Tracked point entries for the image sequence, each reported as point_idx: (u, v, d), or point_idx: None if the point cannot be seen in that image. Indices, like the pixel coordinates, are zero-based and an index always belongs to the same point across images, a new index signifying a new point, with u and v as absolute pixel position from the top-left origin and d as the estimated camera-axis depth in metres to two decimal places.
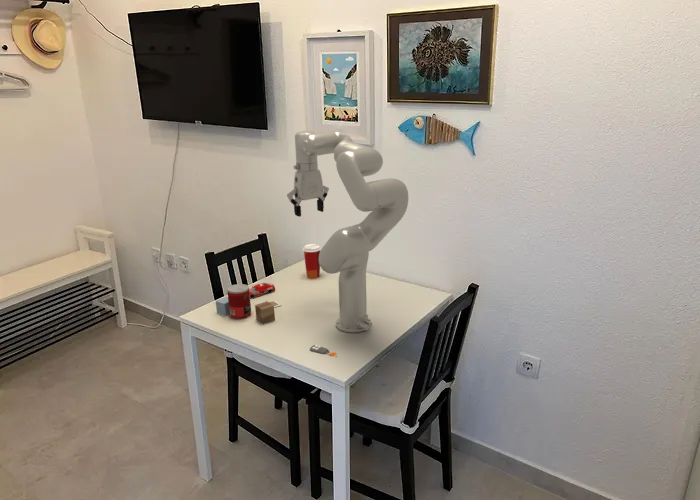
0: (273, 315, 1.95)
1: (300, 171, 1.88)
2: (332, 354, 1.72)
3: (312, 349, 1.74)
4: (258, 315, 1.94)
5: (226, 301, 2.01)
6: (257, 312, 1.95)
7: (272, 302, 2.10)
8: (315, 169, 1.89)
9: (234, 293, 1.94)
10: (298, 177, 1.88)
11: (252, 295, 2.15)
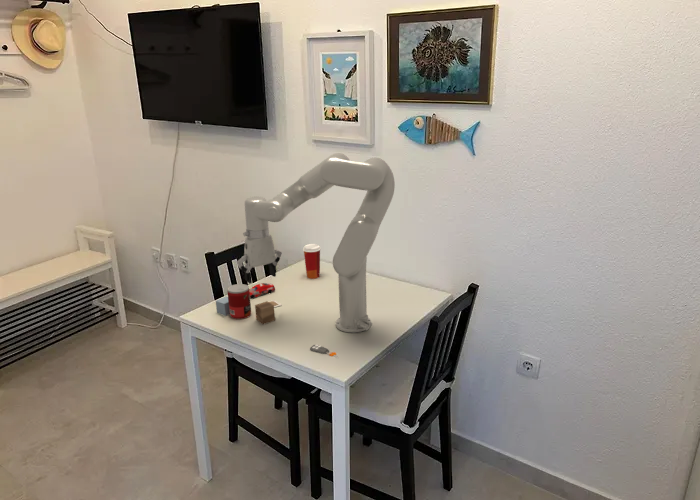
0: (273, 315, 1.95)
1: (250, 238, 1.83)
2: (331, 354, 1.72)
3: (312, 349, 1.74)
4: (258, 315, 1.94)
5: (226, 301, 2.01)
6: (257, 312, 1.95)
7: (272, 302, 2.10)
8: (266, 236, 1.84)
9: (234, 293, 1.94)
10: (248, 244, 1.83)
11: (252, 295, 2.15)
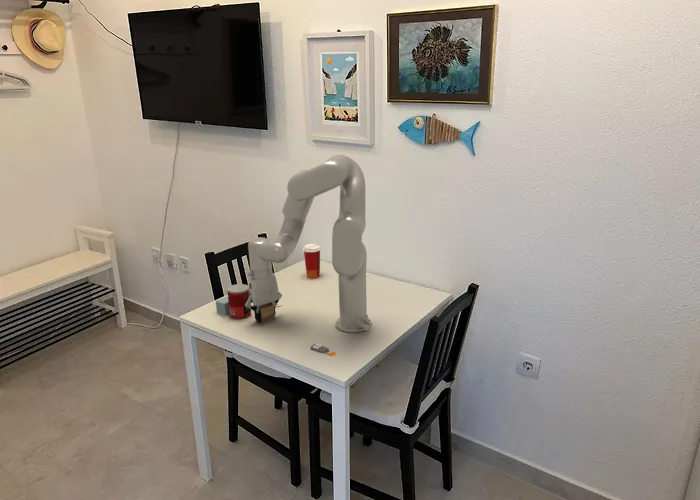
0: (273, 315, 1.95)
1: (254, 278, 1.88)
2: (331, 353, 1.72)
3: (312, 348, 1.75)
4: None
5: (226, 301, 2.01)
6: None
7: None
8: (269, 275, 1.88)
9: (234, 293, 1.94)
10: (252, 284, 1.87)
11: None
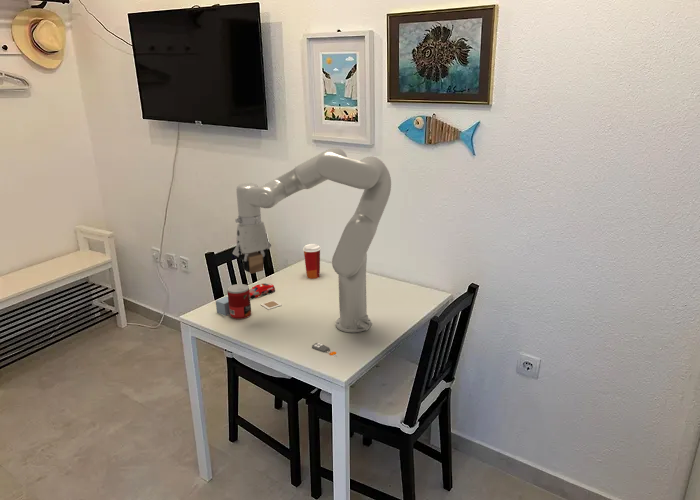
0: (261, 264, 1.90)
1: (242, 224, 1.83)
2: (331, 353, 1.72)
3: (314, 346, 1.75)
4: None
5: (226, 301, 2.01)
6: None
7: (272, 302, 2.10)
8: (258, 222, 1.83)
9: (234, 293, 1.94)
10: (240, 231, 1.82)
11: (252, 296, 2.14)
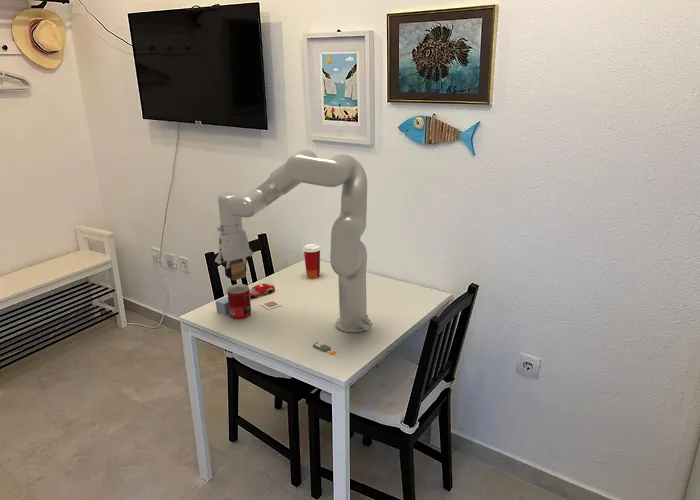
0: (243, 271, 1.95)
1: (224, 233, 1.87)
2: (332, 352, 1.72)
3: (315, 346, 1.76)
4: None
5: (226, 301, 2.01)
6: None
7: (272, 302, 2.10)
8: (239, 231, 1.88)
9: (234, 293, 1.94)
10: (222, 239, 1.87)
11: (252, 296, 2.14)
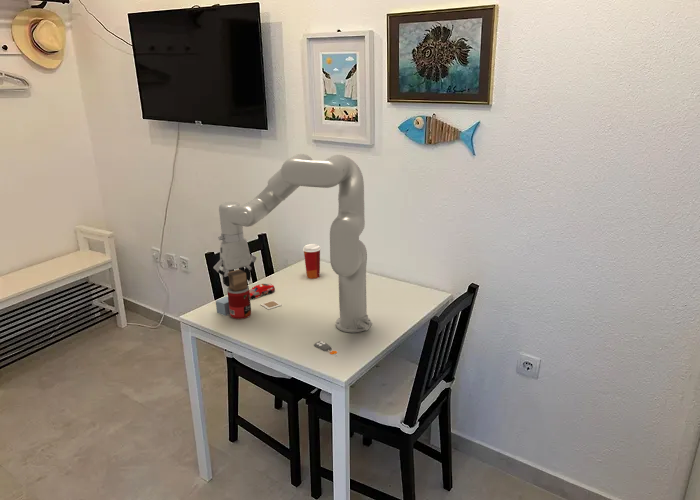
0: (245, 282, 1.96)
1: (225, 242, 1.88)
2: (332, 352, 1.73)
3: (316, 345, 1.76)
4: (230, 282, 1.96)
5: (226, 301, 2.01)
6: (229, 279, 1.96)
7: (272, 302, 2.10)
8: (240, 239, 1.89)
9: (234, 293, 1.94)
10: (223, 248, 1.88)
11: (252, 296, 2.14)
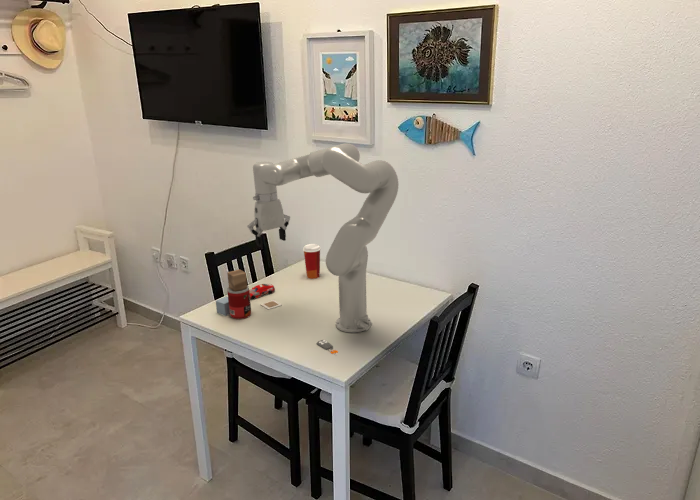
0: (245, 282, 1.96)
1: (260, 202, 1.88)
2: (333, 351, 1.73)
3: (318, 343, 1.77)
4: (230, 282, 1.96)
5: (226, 301, 2.01)
6: (229, 279, 1.96)
7: (272, 302, 2.10)
8: (275, 199, 1.89)
9: (234, 293, 1.94)
10: (258, 208, 1.88)
11: (253, 296, 2.14)
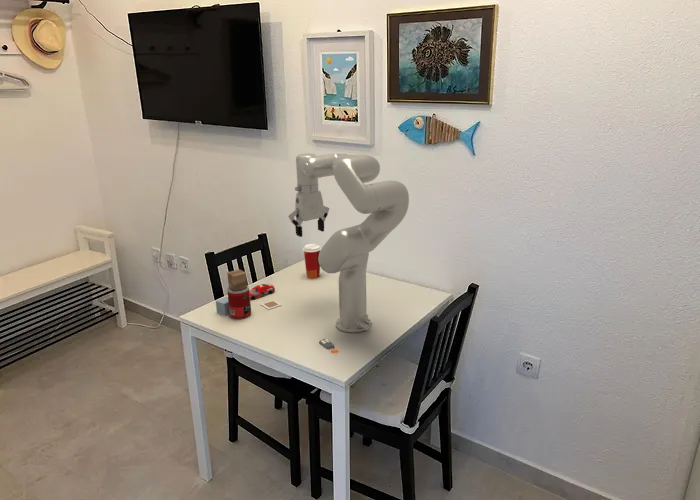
0: (245, 282, 1.96)
1: (301, 193, 1.92)
2: (333, 351, 1.73)
3: (320, 342, 1.78)
4: (230, 282, 1.96)
5: (226, 301, 2.01)
6: (229, 279, 1.96)
7: (272, 302, 2.10)
8: (316, 190, 1.93)
9: (234, 293, 1.94)
10: (299, 198, 1.92)
11: (253, 296, 2.13)
